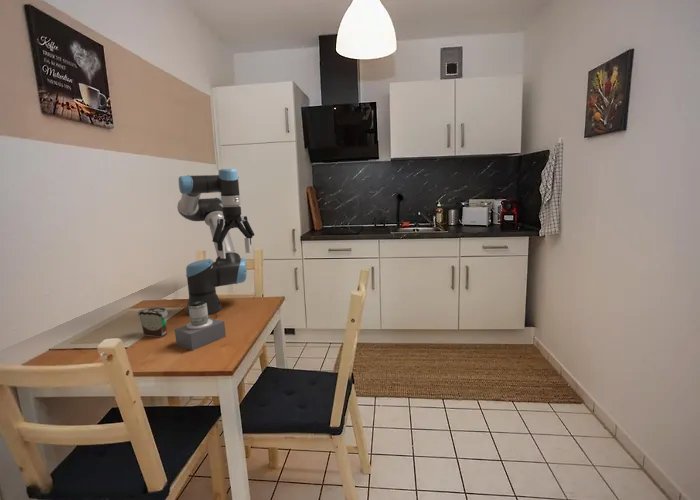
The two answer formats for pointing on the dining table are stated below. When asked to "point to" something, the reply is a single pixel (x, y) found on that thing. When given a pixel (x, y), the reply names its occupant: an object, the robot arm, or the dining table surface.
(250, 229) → the robot arm
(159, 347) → the dining table surface
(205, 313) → the camera lens
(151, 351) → the dining table surface
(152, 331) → the food container
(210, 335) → the grey block with dome
